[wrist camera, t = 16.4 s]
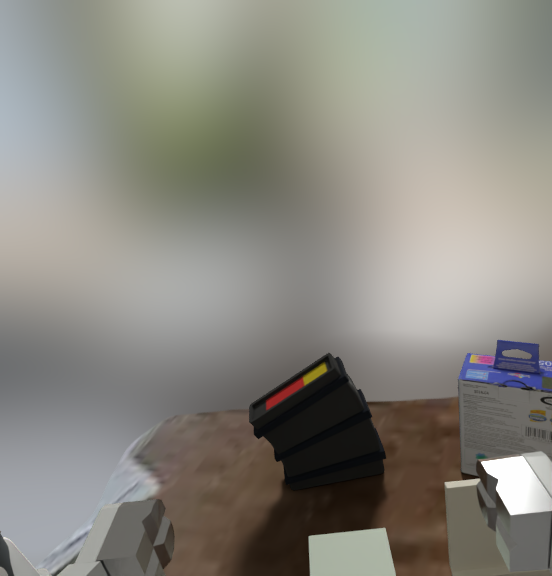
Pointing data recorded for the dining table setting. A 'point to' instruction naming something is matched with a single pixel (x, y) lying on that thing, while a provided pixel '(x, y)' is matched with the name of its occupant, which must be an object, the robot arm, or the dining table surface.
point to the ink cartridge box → (504, 405)
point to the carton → (473, 535)
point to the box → (351, 554)
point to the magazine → (319, 427)
